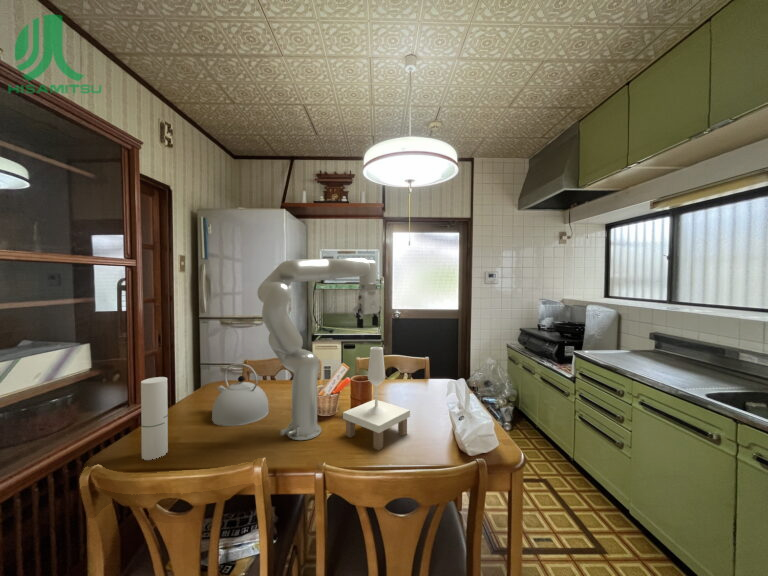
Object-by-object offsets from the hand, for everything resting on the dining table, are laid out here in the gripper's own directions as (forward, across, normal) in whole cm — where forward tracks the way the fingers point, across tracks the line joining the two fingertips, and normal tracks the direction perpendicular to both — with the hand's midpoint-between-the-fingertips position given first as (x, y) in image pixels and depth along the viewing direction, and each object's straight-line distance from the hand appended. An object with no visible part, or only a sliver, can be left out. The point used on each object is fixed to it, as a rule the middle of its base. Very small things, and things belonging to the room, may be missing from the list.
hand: (367, 326), depth 143 cm
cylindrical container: (+38, -72, +30) cm, 87 cm away
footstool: (+38, -13, -17) cm, 44 cm away
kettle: (+39, -38, +42) cm, 68 cm away
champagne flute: (+30, -13, -17) cm, 36 cm away
